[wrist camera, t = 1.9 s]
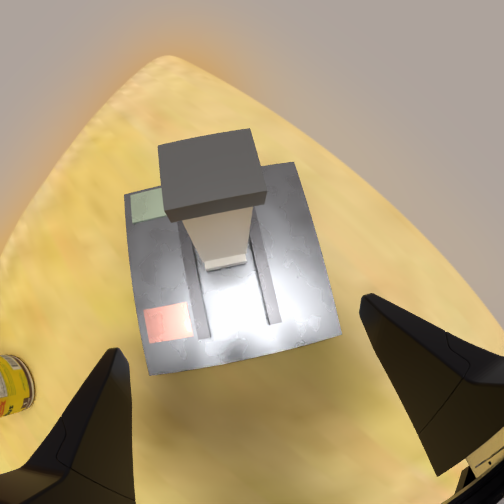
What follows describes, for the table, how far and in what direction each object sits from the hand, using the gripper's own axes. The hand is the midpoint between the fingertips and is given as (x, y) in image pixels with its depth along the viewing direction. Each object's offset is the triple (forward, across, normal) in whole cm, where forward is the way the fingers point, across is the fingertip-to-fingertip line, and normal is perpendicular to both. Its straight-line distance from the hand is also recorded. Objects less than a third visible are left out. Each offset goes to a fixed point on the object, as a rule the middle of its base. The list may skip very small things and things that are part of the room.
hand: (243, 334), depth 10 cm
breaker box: (+13, 0, +4) cm, 13 cm away
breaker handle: (+11, 0, +3) cm, 11 cm away
